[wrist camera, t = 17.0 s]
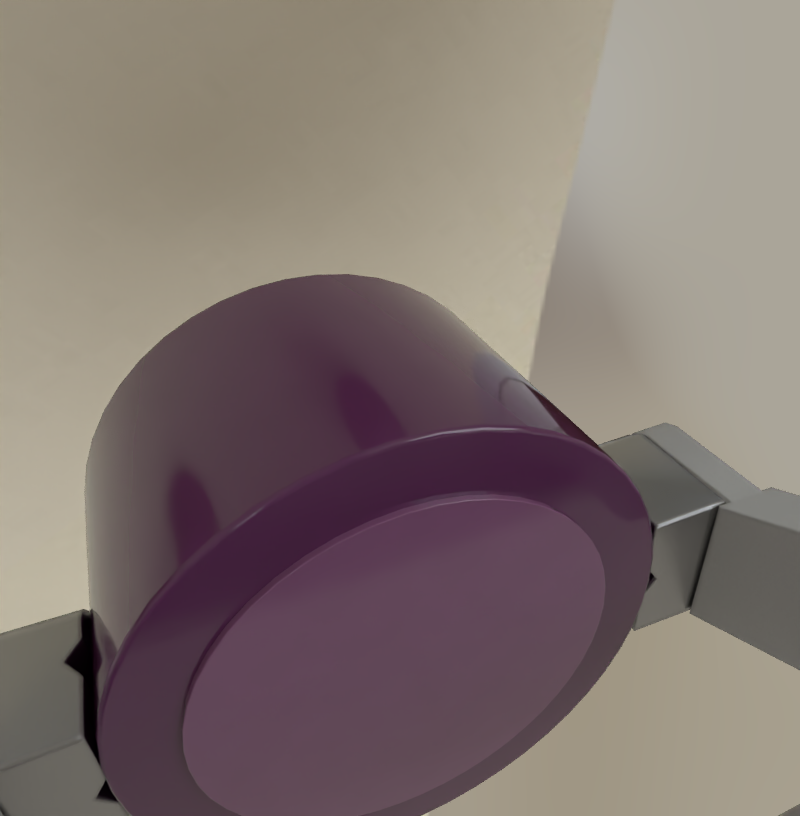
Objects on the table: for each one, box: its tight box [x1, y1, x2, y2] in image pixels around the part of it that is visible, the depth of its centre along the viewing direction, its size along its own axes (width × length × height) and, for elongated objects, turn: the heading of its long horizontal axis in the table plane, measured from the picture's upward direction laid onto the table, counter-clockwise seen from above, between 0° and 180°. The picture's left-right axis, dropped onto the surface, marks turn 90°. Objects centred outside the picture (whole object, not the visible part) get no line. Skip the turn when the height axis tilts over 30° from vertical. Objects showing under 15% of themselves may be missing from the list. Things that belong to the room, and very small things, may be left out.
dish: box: [84, 274, 653, 816], centre depth 9 cm, size 6×6×4 cm
